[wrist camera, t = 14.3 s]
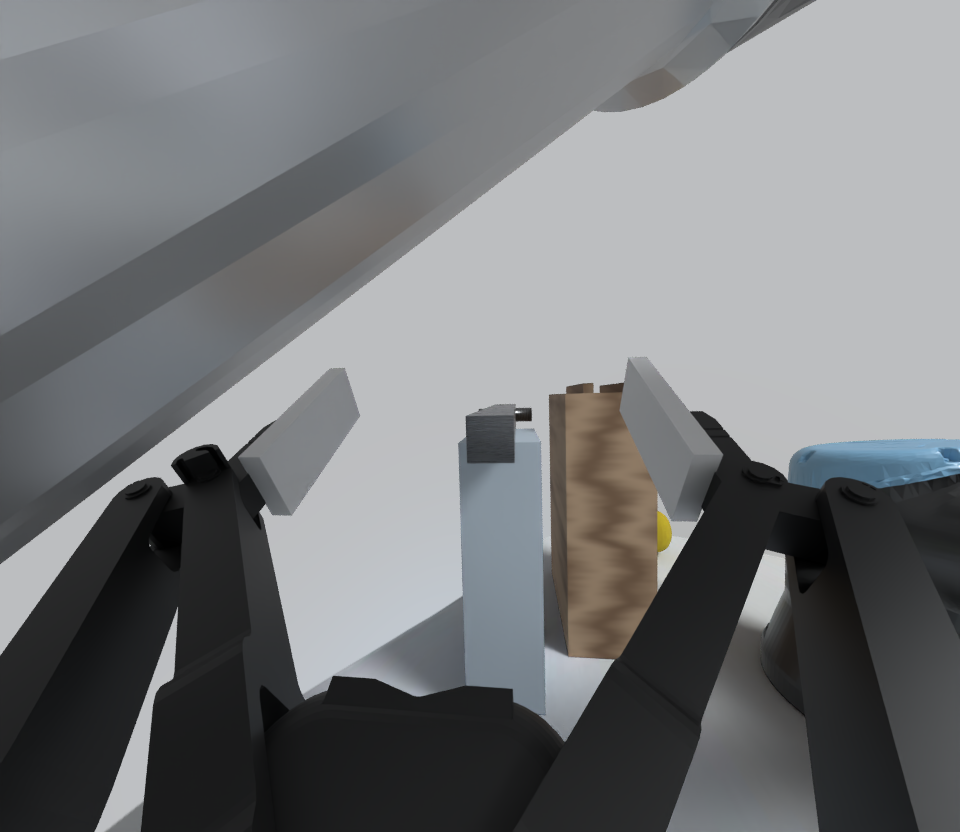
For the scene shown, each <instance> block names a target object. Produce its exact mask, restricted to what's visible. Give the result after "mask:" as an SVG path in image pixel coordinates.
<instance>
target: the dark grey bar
mask: <svg viewBox="0 0 960 832" xmlns="http://www.w3.org/2000/svg"><path fill="white" fill-rule="evenodd" d="M516 421H532V411H531V408H515V404H502V405H501V404H500V405H493V406H491V407H488V408H485V409H479V411H478V412H475V413H472V414H470V415H467V416H466V443H467V463H515V435H516Z"/></svg>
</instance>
